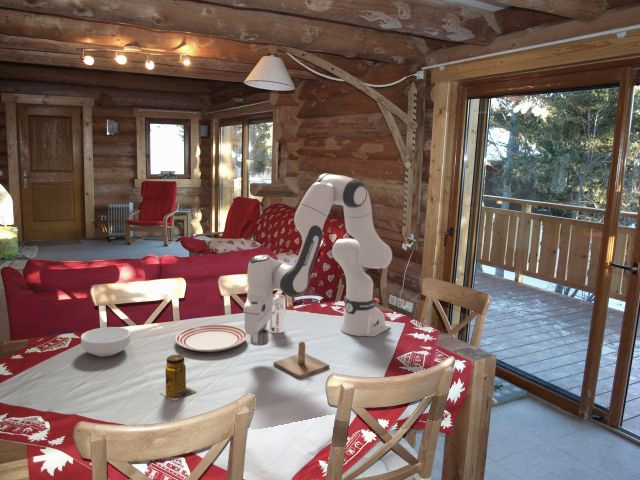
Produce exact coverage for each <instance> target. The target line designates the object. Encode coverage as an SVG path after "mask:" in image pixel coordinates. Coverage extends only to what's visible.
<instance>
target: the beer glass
mask: <svg viewBox="0 0 640 480" xmlns="http://www.w3.org/2000/svg"><path fill="white" fill-rule="evenodd" d="M272 308H273V314H272V317H271V319H270V320H269V321H270V325H269V329H268V331H269V333H271V334H282V333H284V330H285V329H284V320H285V319H284V318H285V314H286V295H285V294H280V293H277V294H276V293H274V294H273V293H272Z"/></svg>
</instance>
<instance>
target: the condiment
mask: <svg viewBox="0 0 640 480" xmlns="http://www.w3.org/2000/svg"><path fill="white" fill-rule="evenodd" d="M186 368H187V367H186V364H185V357H184V355H181V354H171V355H169V356H167V358H166V365H165V369H164V370H165V371H164V372H165V390H164V391H163V392H160V394H161V395H163V396H164V397H165V398H168V399H169V400H172V401H173V402H175V401H177V400H180V399H183V398H185V397H187V396H189V395H192V394H194V393H196V392H197V390H194V389H192V388H190V387H189V386H187V380H186V378H187V377H186V371H187V370H186Z"/></svg>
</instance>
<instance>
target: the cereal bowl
mask: <svg viewBox="0 0 640 480" xmlns="http://www.w3.org/2000/svg"><path fill="white" fill-rule="evenodd" d="M130 342H131V332H130V330H128V329H126V328H123V327H120V326H119V327H117V326H108V327H99V328H94V329H91V330H87V331H86V332H83V333H82V334H81V336H80V344H81V347H82V348H83V350H84V351H85V352H87V353H88V354H90V355H94V356H96V357H100V358H106V357H112V356H115V355H116V354H118V353H120V352H122V351H124V350H125V349H126V348H127V347H128V346H129V344H130Z"/></svg>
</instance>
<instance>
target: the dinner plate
mask: <svg viewBox="0 0 640 480" xmlns="http://www.w3.org/2000/svg"><path fill="white" fill-rule="evenodd" d="M248 336H249V335H248V334H246V332H245V329H243V328H241V327H238V326H234V325H231V324H217V323H216V324H213V323H212V324H203V325H196V326H192V327H189V328H186V329H184V330H182V331H180V332H179V333H178V334H177V335H176V336H175V338H174V341H175V342H176V344H177V345H179V346H180V347H183V348H185V349H187V350H191V351H194V352H195V351H196V352H203V353H215V352H222V351H227V350H229V349H232V348H235V347H238V346H239V345H241V344H243V343H245V341H246V340H247V339H248Z"/></svg>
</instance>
